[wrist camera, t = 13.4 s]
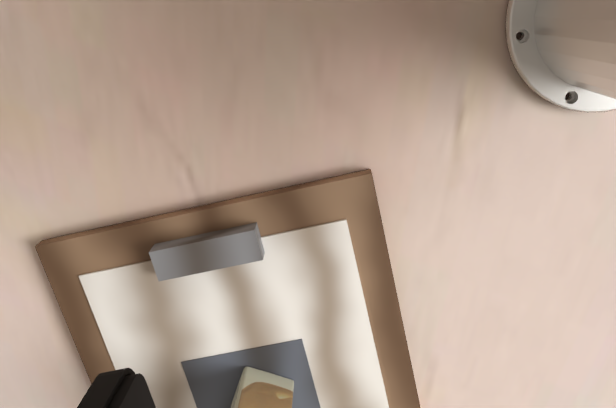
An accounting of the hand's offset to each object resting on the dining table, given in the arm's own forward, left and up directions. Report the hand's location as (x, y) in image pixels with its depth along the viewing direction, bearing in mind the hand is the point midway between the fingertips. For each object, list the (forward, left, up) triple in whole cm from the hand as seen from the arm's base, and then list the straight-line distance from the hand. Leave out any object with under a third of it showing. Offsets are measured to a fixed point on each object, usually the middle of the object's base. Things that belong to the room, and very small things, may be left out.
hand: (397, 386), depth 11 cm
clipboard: (+12, +22, -32) cm, 41 cm away
